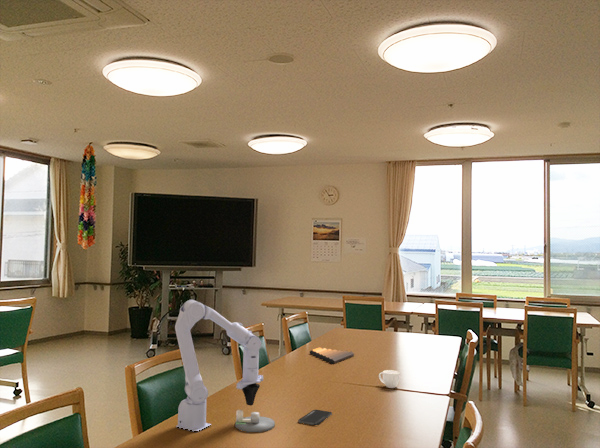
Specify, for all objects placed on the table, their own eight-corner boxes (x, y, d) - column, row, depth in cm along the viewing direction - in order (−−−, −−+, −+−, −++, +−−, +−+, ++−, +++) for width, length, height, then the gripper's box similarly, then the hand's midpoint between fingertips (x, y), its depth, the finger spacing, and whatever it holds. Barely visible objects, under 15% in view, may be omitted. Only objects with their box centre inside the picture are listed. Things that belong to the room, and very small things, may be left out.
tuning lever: (259, 420, 180) (259, 410, 180) (258, 423, 177) (258, 412, 177) (236, 420, 180) (237, 409, 180) (235, 422, 177) (235, 412, 177)
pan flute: (334, 365, 277) (354, 357, 298) (334, 358, 277) (354, 351, 298) (296, 359, 290) (317, 352, 311) (296, 353, 290) (317, 346, 311)
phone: (297, 420, 182) (314, 409, 195) (297, 423, 182) (314, 412, 195) (316, 424, 179) (333, 412, 192) (316, 427, 178) (333, 415, 192)
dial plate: (227, 428, 176) (227, 424, 176) (249, 416, 188) (249, 413, 188) (260, 435, 169) (260, 432, 169) (282, 423, 181) (282, 420, 181)
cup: (395, 390, 226) (395, 374, 227) (375, 386, 232) (375, 371, 233) (402, 386, 233) (402, 371, 233) (382, 382, 239) (382, 368, 239)
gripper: (248, 372, 177) (247, 411, 176) (270, 364, 190) (269, 401, 189) (232, 370, 181) (231, 408, 180) (254, 362, 193) (254, 398, 192)
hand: (249, 404), depth 185 cm, fingers closed
